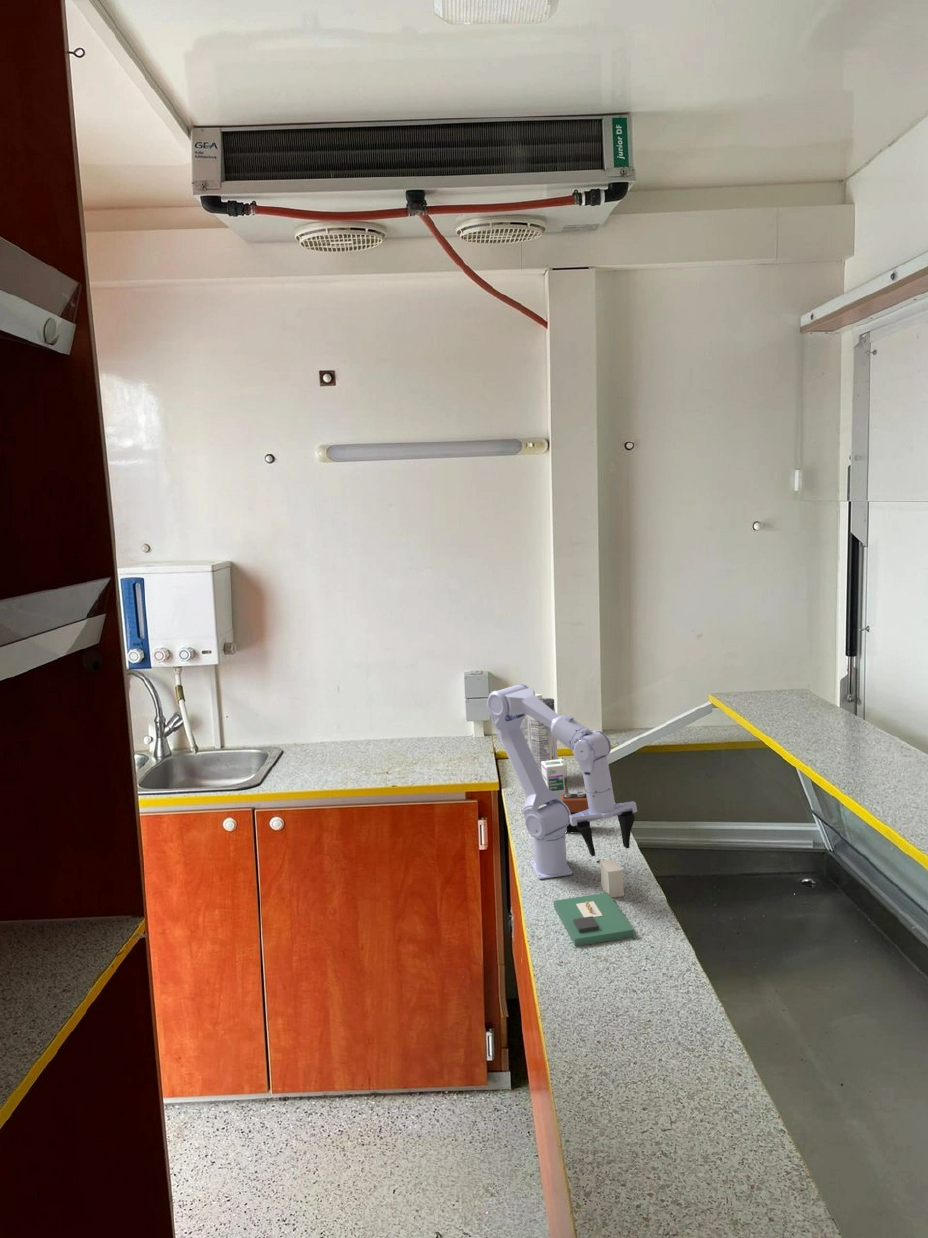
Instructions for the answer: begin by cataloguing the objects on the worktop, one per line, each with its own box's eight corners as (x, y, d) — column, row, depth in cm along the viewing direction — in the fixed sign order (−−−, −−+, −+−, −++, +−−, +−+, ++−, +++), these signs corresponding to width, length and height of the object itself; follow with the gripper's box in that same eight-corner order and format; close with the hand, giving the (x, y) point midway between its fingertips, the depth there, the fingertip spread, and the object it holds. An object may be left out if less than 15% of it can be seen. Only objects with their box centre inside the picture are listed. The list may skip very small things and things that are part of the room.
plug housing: (599, 883, 196) (597, 858, 195) (613, 881, 196) (611, 856, 195) (609, 898, 189) (608, 872, 188) (623, 896, 189) (622, 870, 188)
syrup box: (549, 819, 233) (546, 767, 231) (544, 811, 239) (540, 760, 237) (570, 816, 234) (567, 764, 232) (564, 808, 240) (561, 757, 237)
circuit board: (553, 907, 187) (553, 895, 186) (608, 899, 188) (607, 887, 188) (575, 946, 171) (574, 933, 171) (634, 936, 173) (633, 924, 172)
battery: (590, 833, 223) (588, 795, 221) (563, 834, 224) (561, 796, 222) (590, 826, 227) (588, 789, 225) (563, 827, 228) (561, 790, 226)
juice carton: (548, 792, 253) (542, 701, 248) (516, 787, 258) (510, 698, 254) (562, 781, 260) (557, 693, 255) (531, 777, 266) (525, 690, 261)
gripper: (571, 800, 183) (582, 863, 184) (637, 786, 185) (648, 848, 186) (562, 793, 190) (573, 854, 191) (626, 779, 192) (636, 839, 193)
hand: (609, 851), depth 189 cm, fingers open, 7 cm apart
